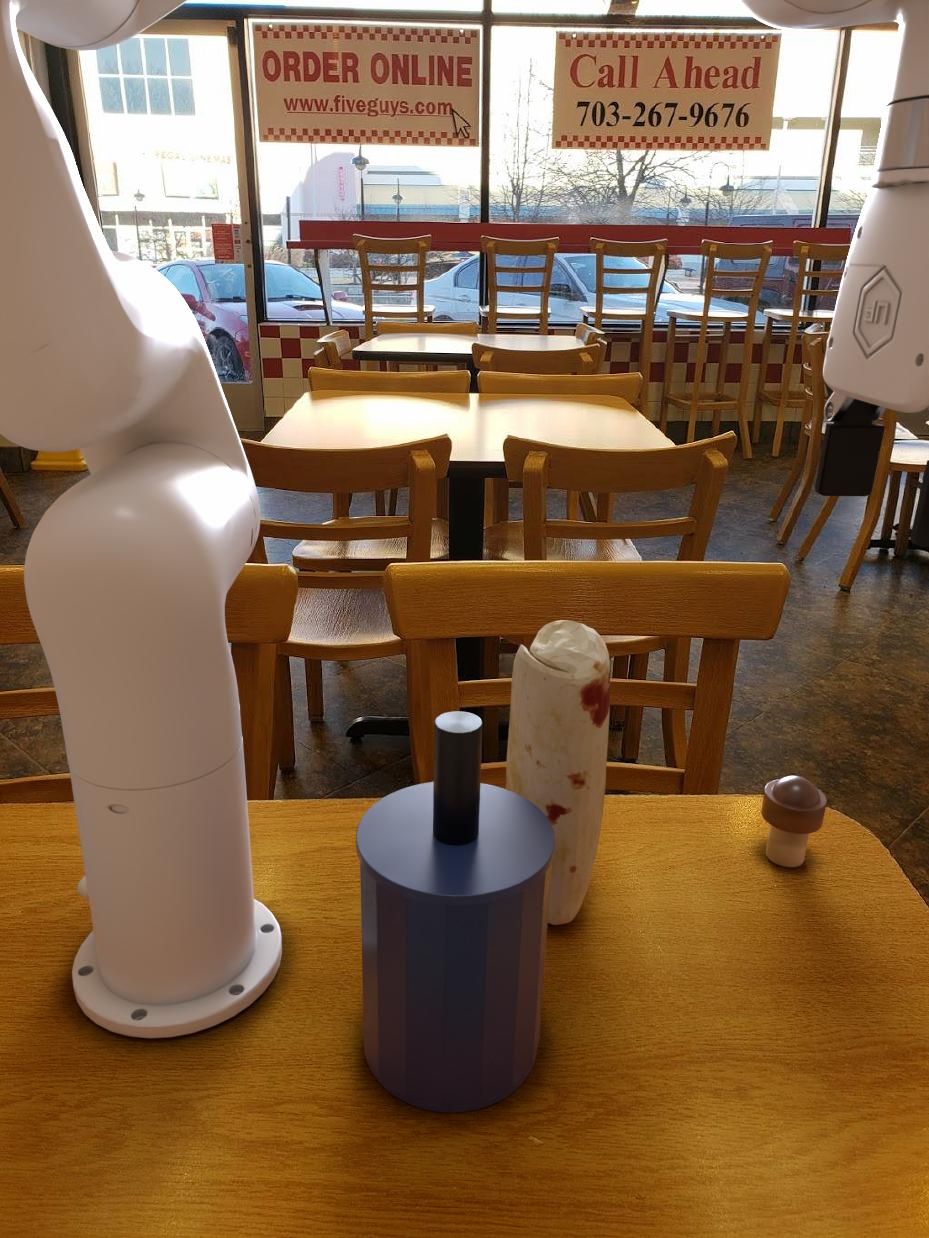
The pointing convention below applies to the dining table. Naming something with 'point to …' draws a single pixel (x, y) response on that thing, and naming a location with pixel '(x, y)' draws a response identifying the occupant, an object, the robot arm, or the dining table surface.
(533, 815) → the lid
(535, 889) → the pot
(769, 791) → the mushroom
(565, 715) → the food model
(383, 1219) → the dining table surface
